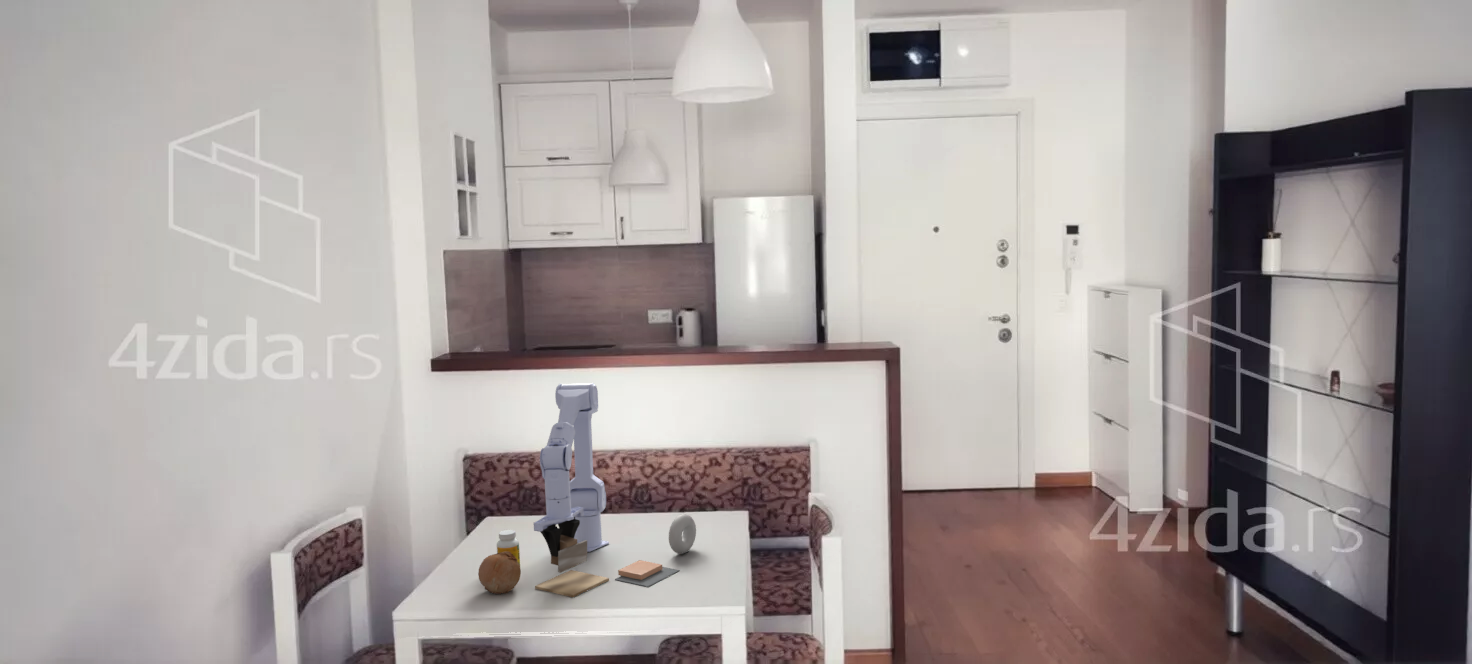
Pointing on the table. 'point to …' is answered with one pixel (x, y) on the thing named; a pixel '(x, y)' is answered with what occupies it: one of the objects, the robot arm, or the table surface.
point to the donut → (675, 533)
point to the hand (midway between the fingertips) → (561, 553)
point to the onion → (499, 572)
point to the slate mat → (650, 577)
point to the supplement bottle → (508, 543)
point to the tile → (640, 570)
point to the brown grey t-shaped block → (570, 553)
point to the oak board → (571, 583)
